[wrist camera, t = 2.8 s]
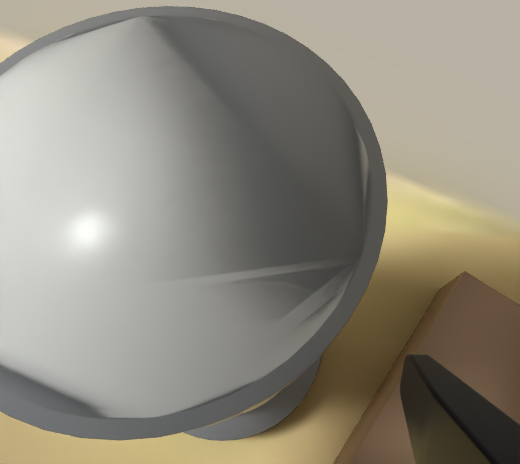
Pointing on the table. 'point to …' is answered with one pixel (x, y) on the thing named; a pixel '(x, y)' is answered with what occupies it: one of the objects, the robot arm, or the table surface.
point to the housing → (177, 224)
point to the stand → (446, 366)
